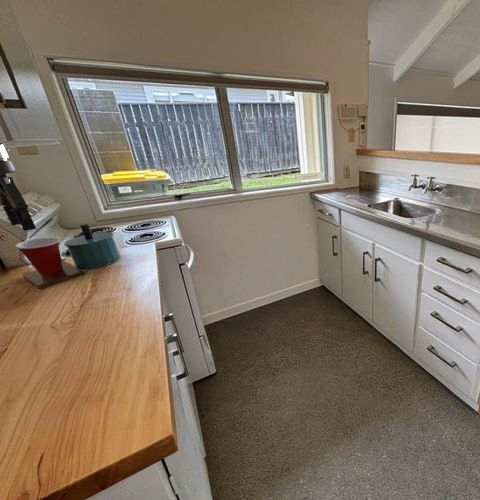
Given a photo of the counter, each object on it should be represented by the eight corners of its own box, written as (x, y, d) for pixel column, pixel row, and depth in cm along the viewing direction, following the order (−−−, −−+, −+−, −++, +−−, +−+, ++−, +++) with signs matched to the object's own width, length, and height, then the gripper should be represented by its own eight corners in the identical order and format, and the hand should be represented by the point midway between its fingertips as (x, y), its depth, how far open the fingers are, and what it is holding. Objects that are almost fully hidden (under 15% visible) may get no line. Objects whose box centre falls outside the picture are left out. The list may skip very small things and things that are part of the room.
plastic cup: (59, 276, 98) (44, 244, 93) (22, 281, 96) (5, 248, 91) (80, 264, 108) (67, 234, 103) (47, 267, 106) (32, 237, 101)
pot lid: (54, 249, 102) (46, 232, 100) (84, 236, 116) (77, 220, 113) (97, 246, 103) (90, 229, 101) (122, 233, 117) (116, 218, 114)
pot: (67, 271, 106) (56, 247, 102) (93, 256, 118) (84, 235, 115) (106, 267, 107) (96, 244, 104) (127, 254, 120) (120, 233, 116)
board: (39, 289, 93) (37, 285, 93) (23, 277, 102) (21, 274, 101) (85, 274, 103) (83, 270, 102) (67, 265, 111) (65, 261, 111)
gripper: (21, 159, 83) (52, 228, 91) (0, 158, 95) (28, 219, 103) (-18, 162, 77) (18, 235, 85) (-36, 160, 89) (-3, 225, 97)
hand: (23, 227), depth 94 cm, fingers open, 13 cm apart
